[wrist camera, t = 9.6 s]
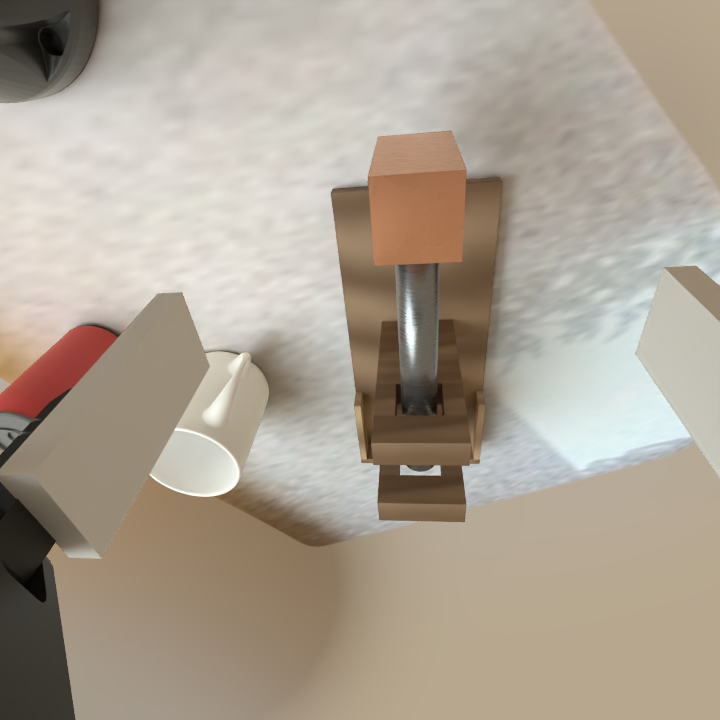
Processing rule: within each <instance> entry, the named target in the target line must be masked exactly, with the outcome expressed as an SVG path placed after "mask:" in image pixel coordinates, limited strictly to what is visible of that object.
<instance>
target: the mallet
mask: <svg viewBox="0 0 720 720" xmlns="http://www.w3.org/2000/svg"><path fill="white" fill-rule="evenodd" d="M368 187H369V200H370V213H371V226H372V239H373V252H374V265H375V266H382V265H395V275H396V296H397V318H398V339H399V360H400V381H401V402H402V416H427V415H437V383H438V321H439V263H446V262H462V252H463V231H464V210H465V190H466V167H465V164H464V162H463V159H462V157H461V154H460V152H459V149H458V146H457V144H456V141H455V139H454V136H453V134H452V131H441V132H429V133H417V134H405V135H392V136H380V137H378V139H377V143H376V146H375V150H374V154H373V158H372V162H371V166H370V170H369V173H368ZM407 466H408V467H409V468H410V469H412V470H414V471H420V472H421V471H427V470H429V469H431V468H432V467H433V466H434V465H407Z"/></svg>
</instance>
